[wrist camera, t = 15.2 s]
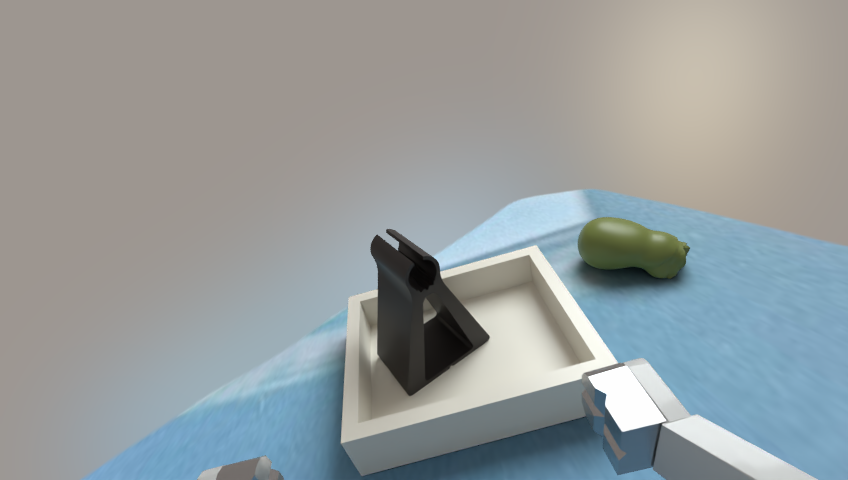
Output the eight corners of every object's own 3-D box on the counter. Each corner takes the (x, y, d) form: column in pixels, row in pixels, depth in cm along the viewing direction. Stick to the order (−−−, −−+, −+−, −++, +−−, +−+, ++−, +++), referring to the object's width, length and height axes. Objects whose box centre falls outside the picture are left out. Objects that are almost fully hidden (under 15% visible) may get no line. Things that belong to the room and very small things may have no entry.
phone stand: (453, 307, 41) (425, 208, 35) (490, 339, 37) (467, 231, 30) (378, 356, 38) (333, 257, 32) (408, 397, 34) (363, 291, 27)
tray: (361, 476, 30) (340, 443, 28) (362, 327, 44) (348, 297, 41) (620, 407, 30) (621, 368, 27) (539, 278, 43) (536, 245, 41)
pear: (586, 204, 43) (693, 220, 39) (578, 243, 46) (678, 261, 42) (578, 232, 39) (696, 254, 35) (570, 273, 42) (679, 297, 38)
